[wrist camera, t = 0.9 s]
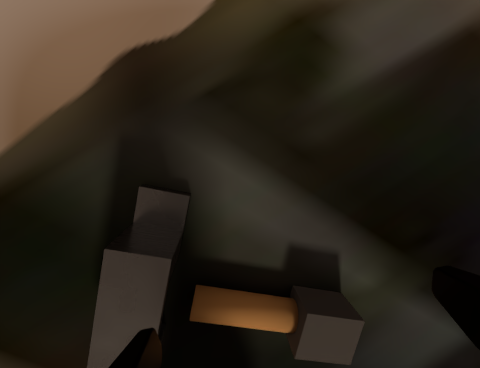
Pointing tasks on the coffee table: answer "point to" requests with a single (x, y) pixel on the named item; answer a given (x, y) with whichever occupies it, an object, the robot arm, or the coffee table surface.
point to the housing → (138, 273)
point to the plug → (288, 318)
